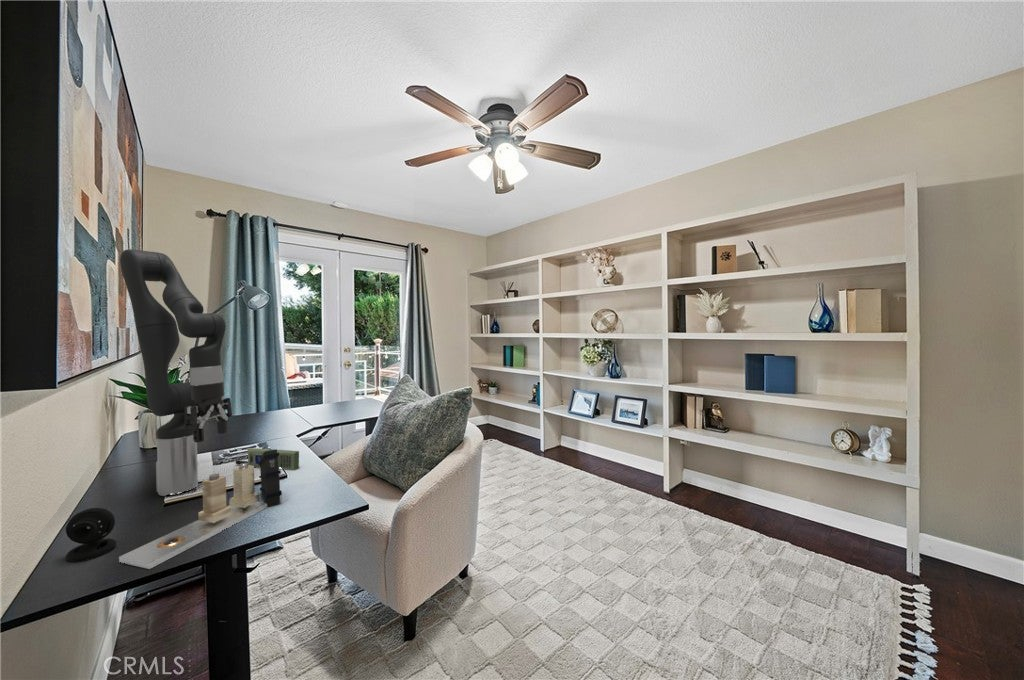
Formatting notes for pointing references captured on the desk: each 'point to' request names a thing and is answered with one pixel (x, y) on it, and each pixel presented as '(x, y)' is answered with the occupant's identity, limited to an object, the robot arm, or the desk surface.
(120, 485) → the desk surface
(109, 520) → the webcam
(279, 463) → the handheld radio
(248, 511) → the bolt-hole plate
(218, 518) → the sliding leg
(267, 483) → the black boxy piece
